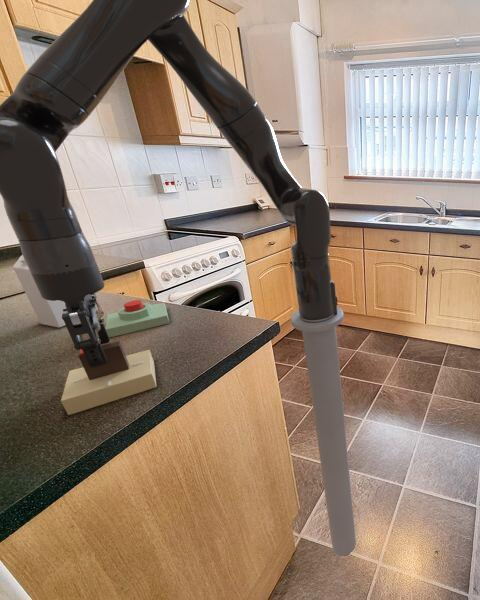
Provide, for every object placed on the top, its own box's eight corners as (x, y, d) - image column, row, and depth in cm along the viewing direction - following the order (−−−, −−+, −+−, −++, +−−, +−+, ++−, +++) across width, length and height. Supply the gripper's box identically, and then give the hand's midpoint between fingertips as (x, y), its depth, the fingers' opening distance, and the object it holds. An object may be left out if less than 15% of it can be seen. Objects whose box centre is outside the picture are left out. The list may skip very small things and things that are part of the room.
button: (143, 305, 85) (141, 298, 84) (144, 310, 82) (142, 303, 82) (126, 308, 83) (123, 302, 82) (125, 314, 80) (123, 307, 80)
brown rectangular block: (129, 364, 62) (119, 339, 60) (129, 369, 61) (119, 344, 59) (90, 374, 59) (78, 349, 57) (89, 380, 58) (77, 354, 56)
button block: (166, 309, 91) (162, 296, 90) (169, 323, 84) (164, 308, 82) (110, 321, 85) (104, 307, 83) (108, 337, 77) (102, 322, 76)
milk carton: (73, 312, 90) (42, 242, 82) (91, 315, 88) (61, 244, 80) (40, 324, 84) (3, 250, 76) (59, 328, 82) (23, 252, 74)
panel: (153, 361, 68) (149, 348, 67) (156, 387, 61) (151, 372, 60) (75, 384, 62) (68, 370, 61) (68, 415, 54) (60, 400, 53)
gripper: (91, 271, 49) (127, 365, 55) (98, 250, 59) (128, 331, 66) (17, 282, 45) (66, 382, 51) (39, 258, 55) (77, 343, 62)
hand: (101, 353), depth 58 cm, fingers open, 8 cm apart
